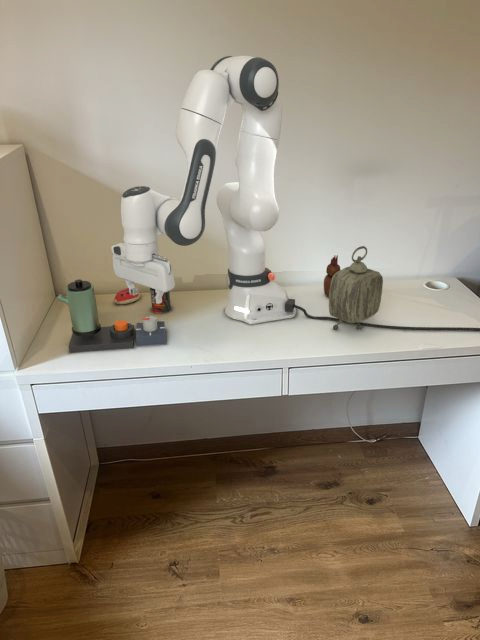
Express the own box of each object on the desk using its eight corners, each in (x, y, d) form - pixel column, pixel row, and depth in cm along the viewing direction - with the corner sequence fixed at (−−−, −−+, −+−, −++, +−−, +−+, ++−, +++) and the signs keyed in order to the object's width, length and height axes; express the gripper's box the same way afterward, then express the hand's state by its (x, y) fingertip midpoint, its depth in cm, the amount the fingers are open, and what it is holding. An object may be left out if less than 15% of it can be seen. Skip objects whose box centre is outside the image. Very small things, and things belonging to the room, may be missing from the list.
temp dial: (157, 325, 158) (156, 314, 156) (157, 331, 154) (156, 320, 153) (143, 325, 157) (142, 315, 155) (143, 332, 154) (141, 321, 152)
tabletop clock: (356, 315, 171) (363, 238, 159) (380, 324, 166) (389, 245, 153) (326, 329, 162) (332, 249, 150) (350, 340, 157) (358, 257, 144)
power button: (128, 325, 156) (127, 319, 155) (127, 331, 153) (127, 325, 152) (115, 326, 155) (114, 320, 155) (114, 332, 152) (113, 325, 151)
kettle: (102, 319, 159) (95, 271, 151) (99, 335, 150) (91, 285, 143) (66, 321, 157) (57, 273, 150) (61, 338, 148) (51, 287, 141)
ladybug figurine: (145, 297, 182) (144, 287, 181) (123, 307, 175) (122, 297, 173) (130, 293, 186) (129, 283, 184) (109, 303, 178) (107, 293, 177)
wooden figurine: (341, 300, 182) (344, 257, 174) (323, 299, 182) (326, 256, 174) (338, 292, 188) (342, 250, 180) (322, 291, 188) (324, 250, 180)
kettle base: (135, 330, 161) (133, 318, 159) (133, 348, 152) (132, 335, 150) (75, 334, 159) (72, 322, 157) (69, 353, 149) (67, 340, 147)
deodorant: (174, 307, 176) (170, 263, 168) (164, 314, 171) (159, 269, 164) (159, 304, 178) (154, 260, 171) (148, 311, 173) (143, 266, 166)
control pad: (165, 330, 162) (164, 320, 160) (166, 344, 154) (165, 334, 152) (137, 332, 160) (136, 322, 159) (136, 346, 153) (135, 336, 151)
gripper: (178, 255, 141) (181, 304, 148) (124, 240, 152) (129, 286, 158) (161, 261, 137) (164, 311, 143) (106, 245, 147) (112, 293, 154)
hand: (145, 298), depth 151 cm, fingers open, 8 cm apart
